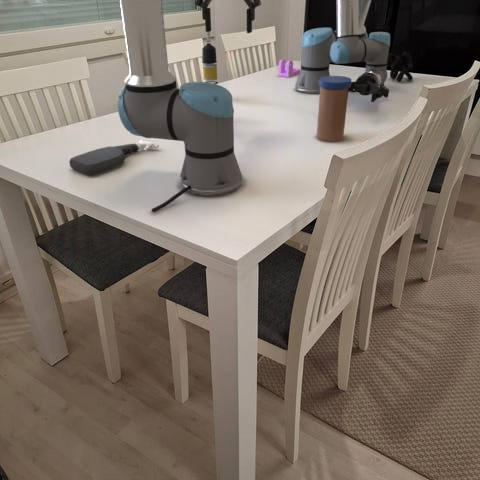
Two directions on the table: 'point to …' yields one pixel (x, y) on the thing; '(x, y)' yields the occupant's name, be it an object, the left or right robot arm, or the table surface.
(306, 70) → the right robot arm
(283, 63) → the bracket
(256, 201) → the table surface
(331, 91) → the jar
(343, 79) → the lid
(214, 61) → the black tall bottle
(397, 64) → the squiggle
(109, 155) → the spray bottle
